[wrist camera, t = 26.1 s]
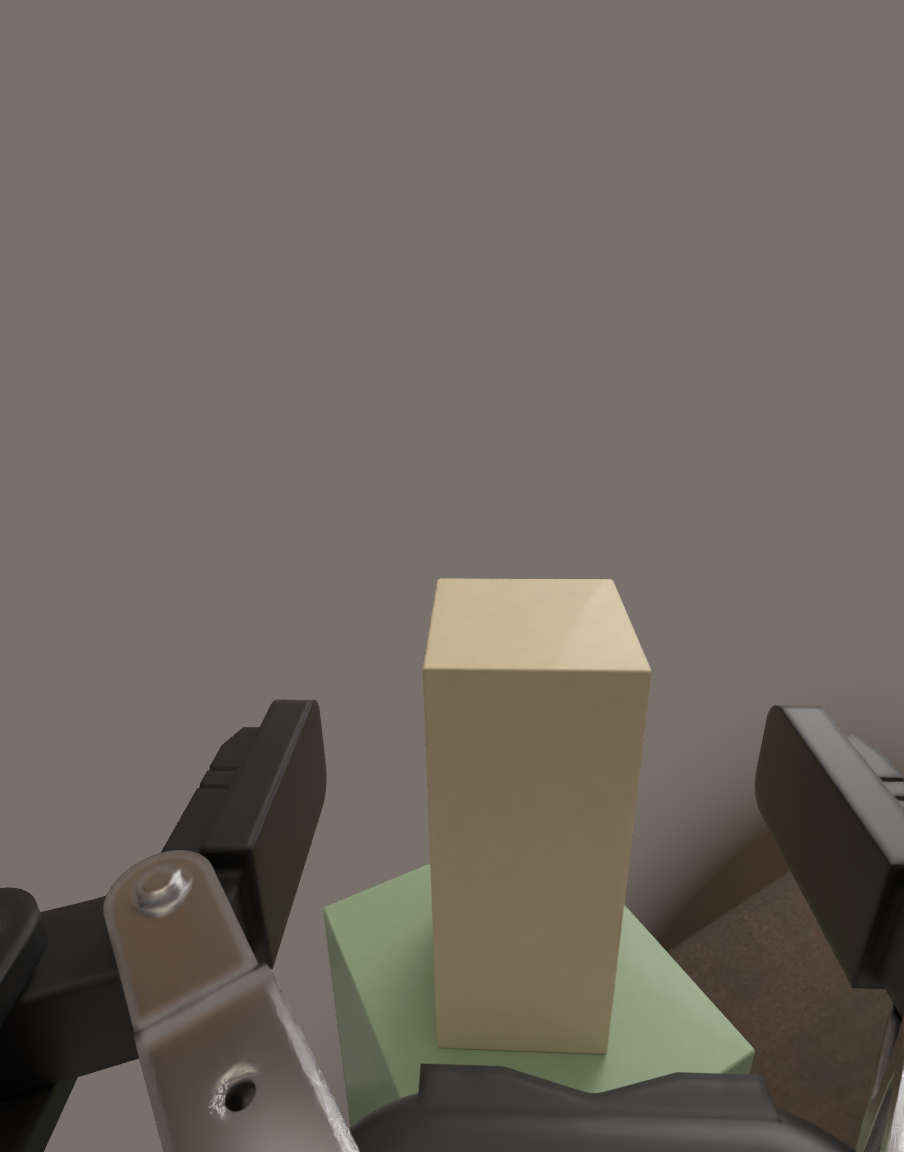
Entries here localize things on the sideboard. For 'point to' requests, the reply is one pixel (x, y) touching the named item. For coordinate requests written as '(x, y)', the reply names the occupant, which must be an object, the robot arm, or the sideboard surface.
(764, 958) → the sideboard surface
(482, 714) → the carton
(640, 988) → the stand
